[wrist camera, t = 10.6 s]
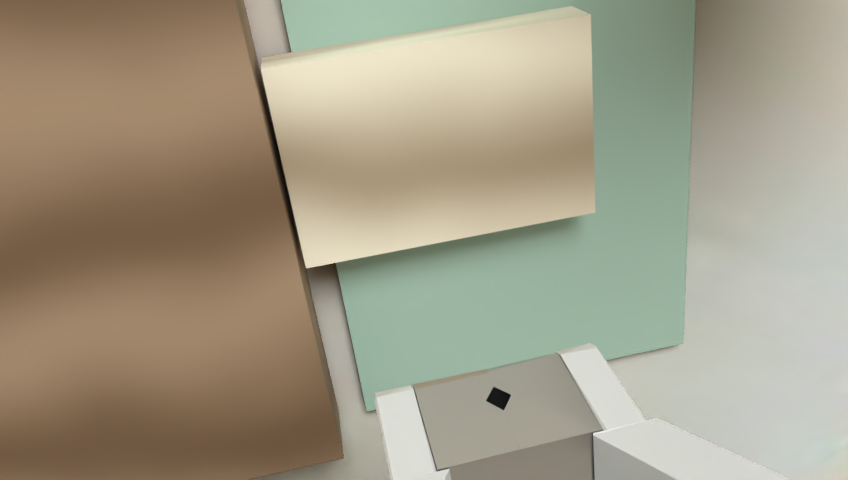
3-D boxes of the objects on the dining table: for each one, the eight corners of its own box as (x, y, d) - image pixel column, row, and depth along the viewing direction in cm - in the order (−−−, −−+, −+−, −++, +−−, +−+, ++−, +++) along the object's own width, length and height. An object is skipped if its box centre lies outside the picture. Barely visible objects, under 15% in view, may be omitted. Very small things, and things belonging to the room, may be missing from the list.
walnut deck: (-349, -168, 17) (-444, -174, 15) (188, -237, 18) (175, -253, 16) (-5, 484, 26) (-31, 541, 24) (338, 410, 27) (343, 458, 25)
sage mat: (230, -243, 18) (229, -245, 18) (698, -303, 19) (707, -307, 19) (365, 404, 27) (366, 411, 27) (678, 337, 28) (683, 343, 28)
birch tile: (261, 57, 21) (261, 69, 20) (571, 5, 22) (590, 14, 20) (304, 246, 24) (306, 268, 22) (578, 194, 24) (595, 212, 23)
